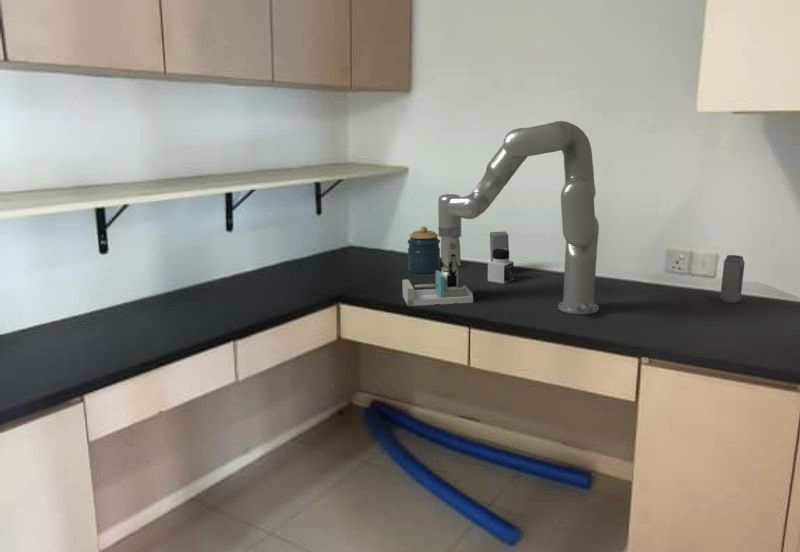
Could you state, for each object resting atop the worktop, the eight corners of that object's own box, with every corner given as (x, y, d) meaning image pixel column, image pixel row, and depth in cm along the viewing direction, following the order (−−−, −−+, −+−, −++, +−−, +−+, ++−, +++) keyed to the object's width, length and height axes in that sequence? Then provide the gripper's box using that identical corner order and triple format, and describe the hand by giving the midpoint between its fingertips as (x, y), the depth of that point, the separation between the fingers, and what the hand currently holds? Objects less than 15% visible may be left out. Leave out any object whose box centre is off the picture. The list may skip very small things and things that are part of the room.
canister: (406, 267, 280) (405, 224, 276) (437, 265, 281) (437, 223, 277) (410, 274, 268) (409, 230, 263) (442, 273, 269) (442, 228, 265)
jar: (460, 289, 231) (460, 269, 229) (443, 290, 230) (443, 270, 229) (456, 285, 237) (456, 265, 235) (439, 286, 236) (439, 266, 234)
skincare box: (509, 275, 265) (510, 234, 261) (491, 275, 265) (491, 234, 261) (506, 269, 273) (507, 230, 269) (488, 270, 273) (489, 230, 269)
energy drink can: (722, 297, 230) (726, 253, 227) (741, 300, 227) (746, 255, 223) (718, 301, 226) (722, 257, 222) (738, 304, 222) (743, 259, 219)
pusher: (444, 299, 229) (444, 276, 227) (417, 301, 228) (416, 278, 226) (439, 292, 238) (439, 270, 236) (412, 294, 237) (412, 271, 235)
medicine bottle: (504, 284, 252) (504, 252, 249) (487, 281, 256) (487, 249, 253) (513, 279, 257) (514, 248, 254) (496, 277, 262) (497, 246, 259)
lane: (473, 302, 230) (473, 285, 228) (407, 306, 227) (407, 288, 225) (464, 292, 241) (464, 276, 240) (402, 296, 238) (402, 279, 237)
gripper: (466, 236, 221) (466, 290, 225) (455, 226, 237) (455, 277, 242) (444, 237, 220) (444, 291, 224) (433, 227, 236) (434, 278, 241)
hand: (449, 283), depth 233 cm, fingers closed on jar, 5 cm apart
